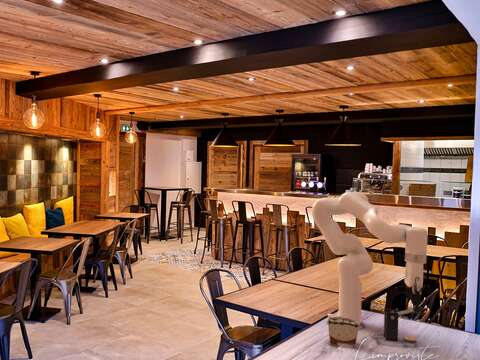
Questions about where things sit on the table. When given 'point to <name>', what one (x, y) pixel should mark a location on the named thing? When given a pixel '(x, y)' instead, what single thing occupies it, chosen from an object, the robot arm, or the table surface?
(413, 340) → the cake
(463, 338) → the table surface
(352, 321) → the food container
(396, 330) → the black upright box
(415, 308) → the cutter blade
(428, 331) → the table surface
